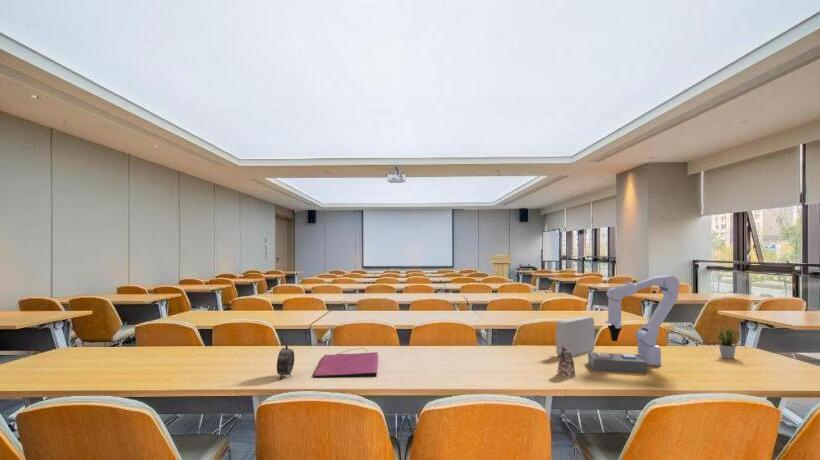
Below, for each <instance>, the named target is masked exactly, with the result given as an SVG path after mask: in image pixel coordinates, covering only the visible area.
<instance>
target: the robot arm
mask: <svg viewBox="0 0 820 460" xmlns="http://www.w3.org/2000/svg"><path fill="white" fill-rule="evenodd" d="M680 284H681V283H680V282H679V279H678V278H677V277H676V276H673V275H665V274H659V275H655V276H653V277H649V278H647V279H645V280H642V281H638V282H635V283H634V282H632V281H626V282H625V284H621V285H616V287H609V288H608V289H607V291H606V292H605V293H606V297H607V301H608V302H607V303H608V304H607V308H608V309H607V310H608V312H607V314H608V316H607V320H605V323H606V324H610V325H607V327H608V330H609V334H610V337H611V341H612V342H618V339H619V335H620V332H621V330H622V326H621V325H622V323H623V322H622V300H623V298H627V297H629V296H632V295H635V294H637V293H638V292H639V290H643V289H646V288H651V287H654V286H658V288H659V289H660V290H661V291H662V294H663V297H662V299H661V300H660V301H659V303H658V304H657V307H656V308H655V309H654V311H653V313H652V314H651V316H650V318H649V319H648V321H647V322H646V323H645V324H643V325H641V327H640V328H639V329H638V330H636V332H635V334H634V335H635V339H636V340H637V355H639V356H640V357H641V358H642V359H644V360H645V361H646V362H647V366H659V367H662V366H663V365H662V355H661V354H662V351H661V347H660V345H657V344H656V343H657V342H658V336H659V335H660V331H659V328H660V327H661V325H662V324H663V322H664V321H665V319H666V318H667V316H668V314H669V312H671V310H672V309H673V307H674V305H675V303H676V302H677V300H678V298H679V288H680V286H681V285H680Z"/></svg>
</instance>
